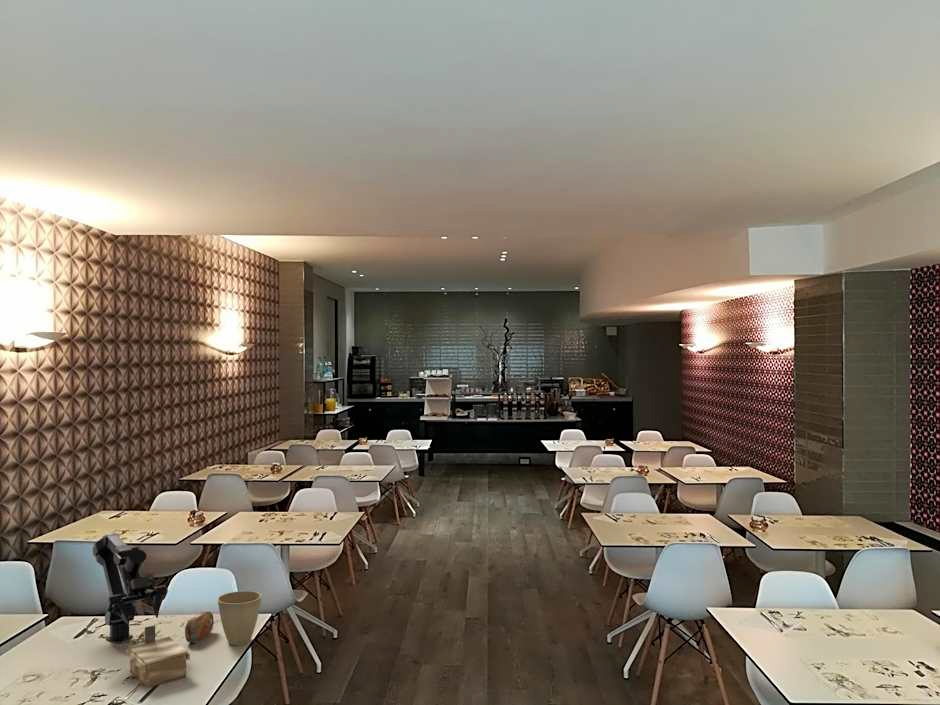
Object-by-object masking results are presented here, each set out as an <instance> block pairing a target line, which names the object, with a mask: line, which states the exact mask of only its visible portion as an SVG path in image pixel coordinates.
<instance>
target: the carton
mask: <svg viewBox="0 0 940 705" xmlns="http://www.w3.org/2000/svg"><path fill="white" fill-rule="evenodd" d="M129 666H130V667H129V669H130V670H129V672H130V673H131V674H132V675H133V676H134V677H135V679H137V681H139V682H140V683H141V684H142V686H144V687H145V688H146V689H149V688H152V687H156V686H159V685H162V684H166V683H167V684H168V683H170V682H173V681H177V680H180V679H183V678H187V659H186V654H185V655H182V656H178V657H174V658H170V659H166V660H163V661H159V662H155V663H151V664H147V665H146V672H143V671H142V670H141V669H140V668H139V667H138V666H137V665H136V664H135V663H134V662H133V661H132V660H131V659H130V660H129Z"/></svg>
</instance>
